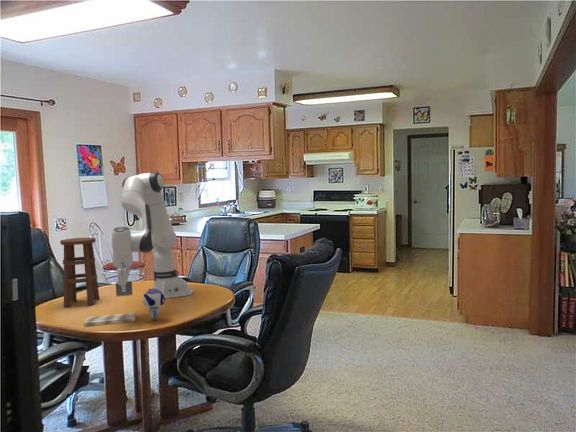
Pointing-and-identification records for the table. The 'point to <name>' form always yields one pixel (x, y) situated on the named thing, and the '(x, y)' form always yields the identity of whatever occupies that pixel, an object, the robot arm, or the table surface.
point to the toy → (153, 301)
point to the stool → (71, 276)
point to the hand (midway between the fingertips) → (124, 290)
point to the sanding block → (128, 289)
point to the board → (110, 319)
